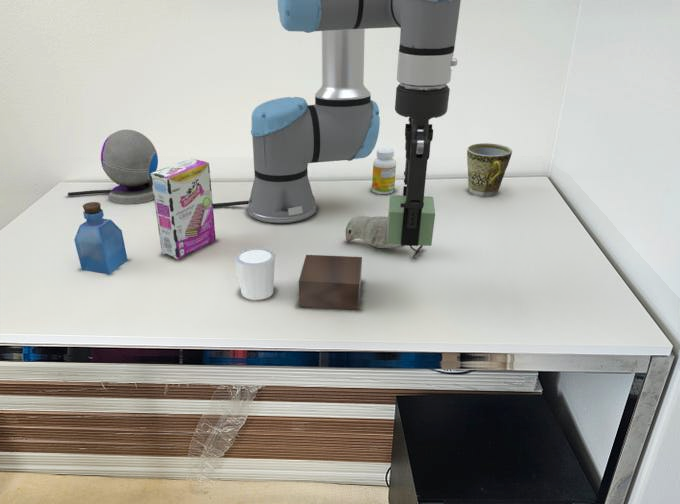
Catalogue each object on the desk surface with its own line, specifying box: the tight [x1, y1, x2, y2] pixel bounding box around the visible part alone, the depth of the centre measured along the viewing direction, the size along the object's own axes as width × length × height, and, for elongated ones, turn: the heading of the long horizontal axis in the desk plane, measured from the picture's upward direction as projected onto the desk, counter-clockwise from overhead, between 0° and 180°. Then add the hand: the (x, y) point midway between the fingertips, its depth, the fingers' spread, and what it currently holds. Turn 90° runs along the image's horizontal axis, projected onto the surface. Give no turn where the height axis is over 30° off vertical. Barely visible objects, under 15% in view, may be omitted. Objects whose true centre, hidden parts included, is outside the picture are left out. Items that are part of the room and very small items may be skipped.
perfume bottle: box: [73, 201, 129, 275], centre depth 115 cm, size 6×6×12 cm
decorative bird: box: [345, 215, 424, 259], centre depth 120 cm, size 5×16×7 cm, turn 64°
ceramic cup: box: [466, 142, 513, 197], centre depth 143 cm, size 13×10×10 cm
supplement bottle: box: [371, 147, 397, 195], centre depth 146 cm, size 5×5×10 cm
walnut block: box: [298, 254, 363, 311], centre depth 106 cm, size 10×10×5 cm
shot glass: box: [234, 247, 276, 301], centre depth 107 cm, size 7×7×7 cm
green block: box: [387, 194, 436, 247], centre depth 99 cm, size 7×7×6 cm
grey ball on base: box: [100, 129, 159, 205], centre depth 145 cm, size 13×13×15 cm
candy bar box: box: [150, 158, 217, 261], centre depth 119 cm, size 11×5×16 cm, turn 145°
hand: (408, 234), depth 101 cm, fingers closed on green block, 7 cm apart
